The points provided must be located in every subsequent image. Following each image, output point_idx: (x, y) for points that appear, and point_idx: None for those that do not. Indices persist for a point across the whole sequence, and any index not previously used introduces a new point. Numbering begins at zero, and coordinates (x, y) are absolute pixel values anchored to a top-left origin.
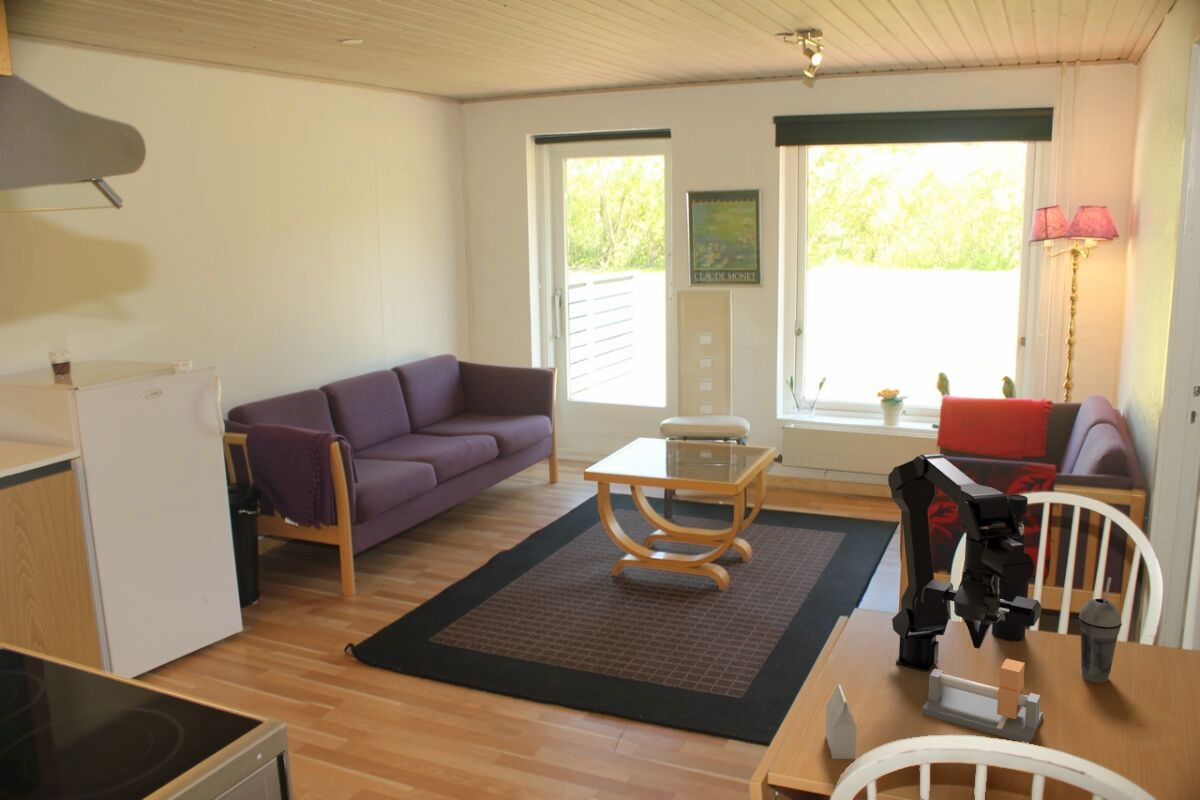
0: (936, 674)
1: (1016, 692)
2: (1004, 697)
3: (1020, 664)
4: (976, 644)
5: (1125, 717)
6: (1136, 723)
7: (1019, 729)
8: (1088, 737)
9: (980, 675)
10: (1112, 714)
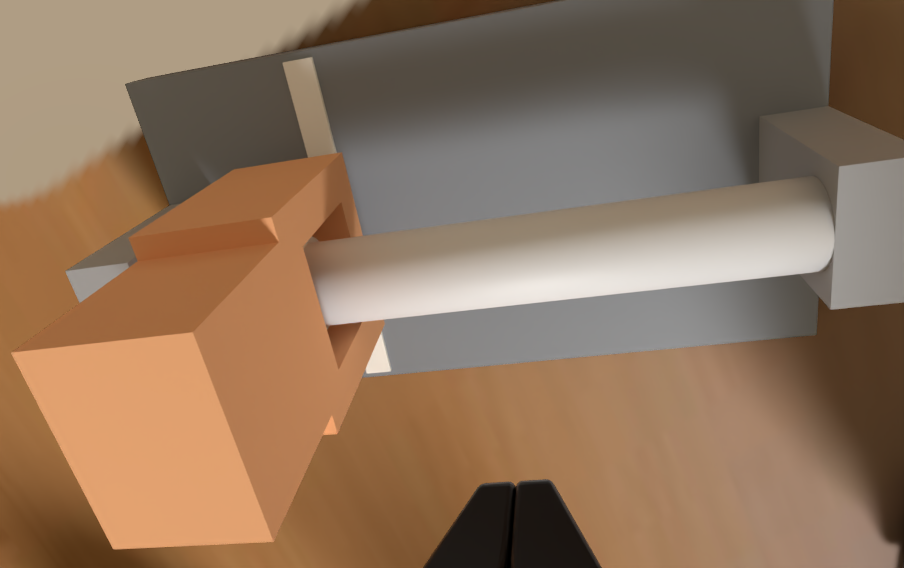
0: (871, 205)
1: (135, 237)
2: (250, 198)
3: (113, 503)
4: (512, 519)
5: (53, 552)
6: (5, 534)
7: (214, 136)
8: (33, 334)
9: (653, 563)
10: (94, 548)
